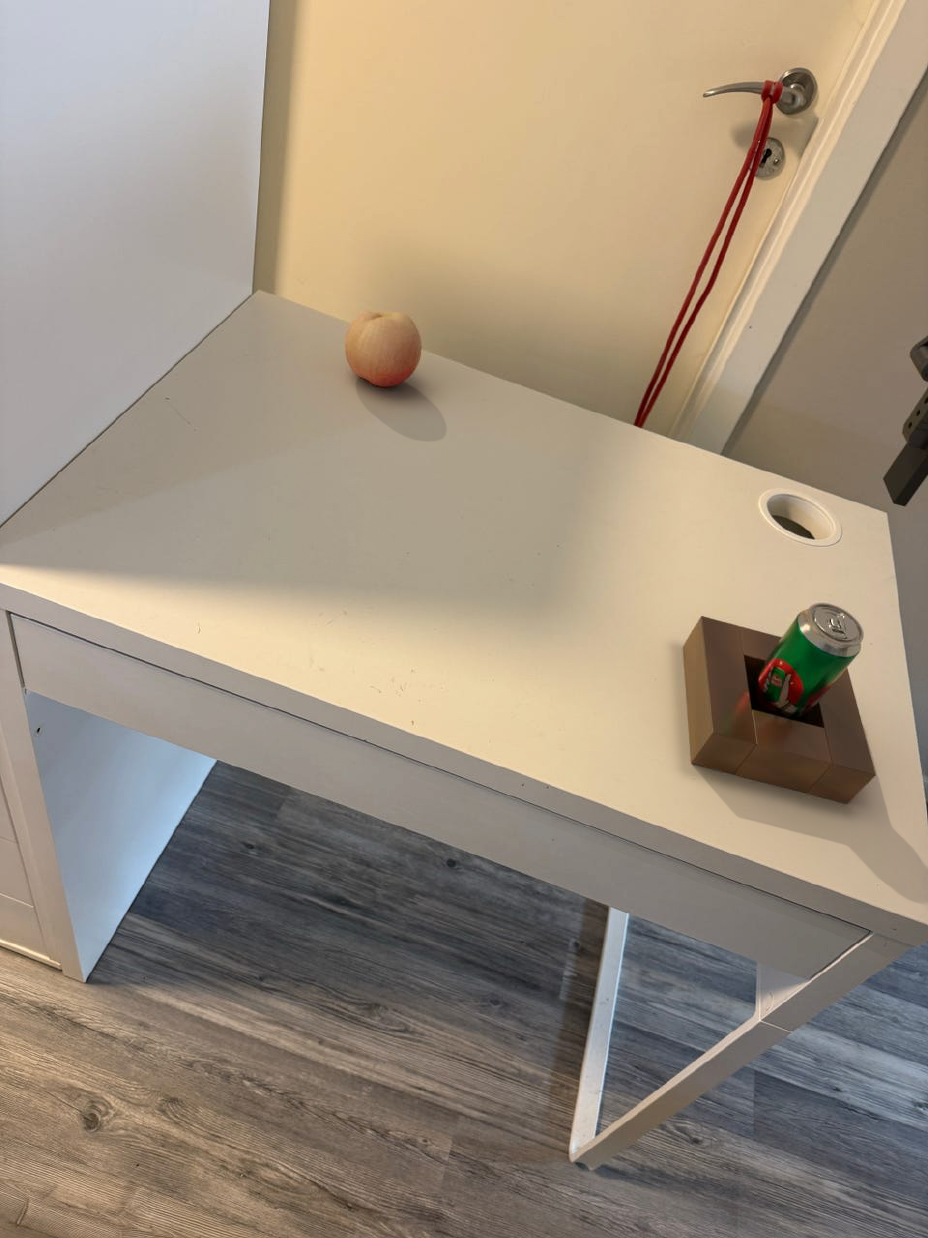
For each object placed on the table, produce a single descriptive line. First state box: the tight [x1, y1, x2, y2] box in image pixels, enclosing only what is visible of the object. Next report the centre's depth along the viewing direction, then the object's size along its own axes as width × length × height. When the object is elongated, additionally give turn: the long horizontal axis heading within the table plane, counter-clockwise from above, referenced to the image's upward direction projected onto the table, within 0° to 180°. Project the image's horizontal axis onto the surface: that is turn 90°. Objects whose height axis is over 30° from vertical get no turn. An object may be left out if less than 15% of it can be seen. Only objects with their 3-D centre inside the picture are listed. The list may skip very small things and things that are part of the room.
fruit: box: [344, 311, 423, 388], centre depth 93 cm, size 8×8×8 cm
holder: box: [682, 615, 877, 804], centre depth 69 cm, size 13×13×4 cm
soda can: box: [748, 602, 865, 722], centre depth 67 cm, size 5×5×12 cm
